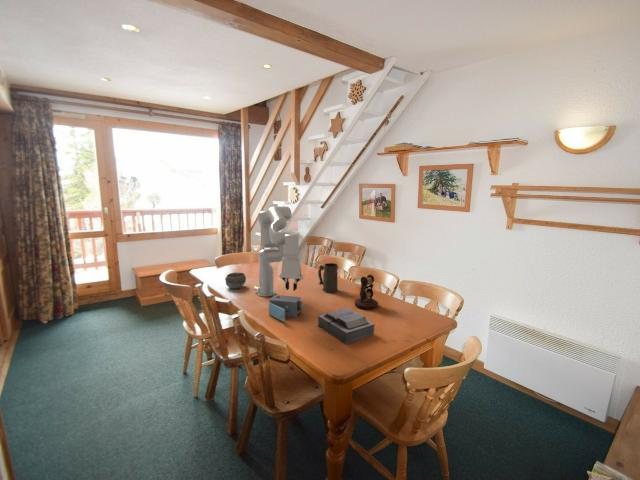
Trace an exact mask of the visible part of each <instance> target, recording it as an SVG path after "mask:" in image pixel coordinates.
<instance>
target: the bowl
mask: <svg viewBox="0 0 640 480" xmlns="http://www.w3.org/2000/svg"><path fill="white" fill-rule="evenodd" d="M224 279H225V285H226V286H227V287H228V288H229V289H234V290H236V289H239V288H242V287H243V286H244V285H245V283H246V281H247V277H246V275H245V273H244V272H237V271H236V272H231V273H228V274H226V276H225V278H224Z"/></svg>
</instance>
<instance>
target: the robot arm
mask: <svg viewBox="0 0 640 480" xmlns="http://www.w3.org/2000/svg"><path fill="white" fill-rule="evenodd" d="M257 214H258V215H257V219H258V224H259V228H260V241H259V242H260V246H261V247H262V248H263V249H260V250H259V251H258V252H257V259H258V269H259V276H258V277H259V286H254V287H253V290H254V291H257V293H256V294H257V295H258V296H259V297H271V296H272V297H273V296H274V295H277V293H276V291H275V290H274V268H273V266H272V265H271V263H281V262H282V263H281V270H280V274H279V276H278V277H279V278H280V279H281V280H283V282H284V283H285V290H286V291H289V290H290V282H289V279H292V280H294V281H293V283H292V284H293V287H292V288H293V289H292V290H293V291H294V292H295V291H296V290H297V288H298V282H299V281H301V280H304V279H305V278H304V275H303V274H302V266H301V265H302V264H301V260H300V257H299V256H300V255H299V253H300V252H299V249H300V248H299V247H300V246H299V241H300V237H299V235H298V234H297V233H296V232H295V231H293V230H292V231H290V230H289V231H288V230H287V231H286V230H285V231H283V230H284V229H285V228H286V227H287V224H288V223H287V222H288V221H290V220H291V219H292V216H293V215H292V214H293V213H292V210H291V209H290V207H288V206H283V205H282V206H271V207H270V208H268V210H267V209H266V210H260V211H259V212H258V213H257Z"/></svg>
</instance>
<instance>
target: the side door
mask: <svg viewBox="0 0 640 480" xmlns="http://www.w3.org/2000/svg"><path fill="white" fill-rule="evenodd" d="M268 315H269V316H271V317H273V318H276V319H278V320H279V321H281V322H286V316H285V309H283V308H281V307H278V306H276V305H274V304H272V303H270V302H268Z"/></svg>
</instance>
